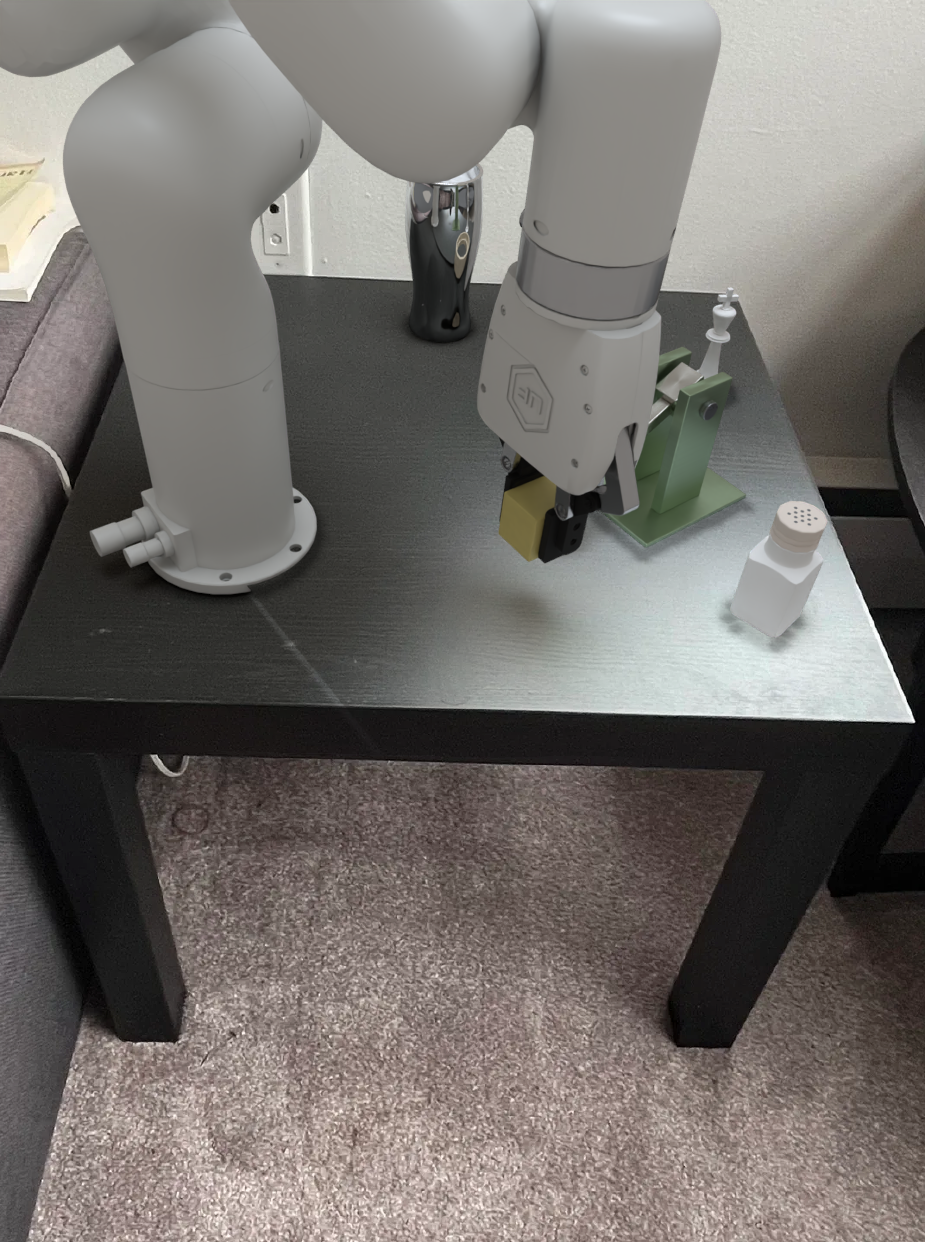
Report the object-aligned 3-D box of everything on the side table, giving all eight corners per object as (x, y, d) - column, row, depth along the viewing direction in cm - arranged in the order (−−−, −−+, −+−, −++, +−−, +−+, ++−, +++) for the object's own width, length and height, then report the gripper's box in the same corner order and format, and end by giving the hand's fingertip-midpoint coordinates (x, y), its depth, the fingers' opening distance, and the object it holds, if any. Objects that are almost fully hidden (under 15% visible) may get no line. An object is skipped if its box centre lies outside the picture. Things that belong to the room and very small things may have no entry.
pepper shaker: (771, 649, 67) (814, 545, 61) (722, 619, 69) (759, 515, 62) (800, 620, 70) (845, 516, 63) (752, 591, 71) (790, 488, 65)
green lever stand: (643, 556, 73) (676, 425, 65) (565, 493, 78) (586, 362, 70) (743, 506, 78) (785, 377, 70) (663, 449, 83) (694, 322, 75)
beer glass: (401, 308, 97) (402, 152, 87) (471, 308, 98) (480, 153, 87) (406, 345, 93) (408, 184, 82) (479, 344, 93) (490, 185, 83)
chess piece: (738, 405, 88) (768, 302, 81) (686, 407, 88) (712, 304, 80) (719, 375, 92) (747, 274, 85) (669, 377, 91) (693, 275, 84)
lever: (573, 530, 71) (562, 507, 68) (545, 506, 72) (533, 482, 70) (713, 403, 72) (708, 375, 69) (682, 383, 73) (676, 354, 71)
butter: (528, 562, 62) (536, 520, 59) (497, 533, 63) (503, 491, 61) (580, 538, 64) (590, 497, 61) (549, 511, 65) (557, 469, 63)
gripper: (438, 216, 53) (419, 484, 66) (648, 364, 44) (578, 638, 58) (544, 191, 56) (506, 451, 69) (758, 324, 48) (668, 591, 61)
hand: (539, 533), depth 63 cm, fingers closed on butter, 3 cm apart
